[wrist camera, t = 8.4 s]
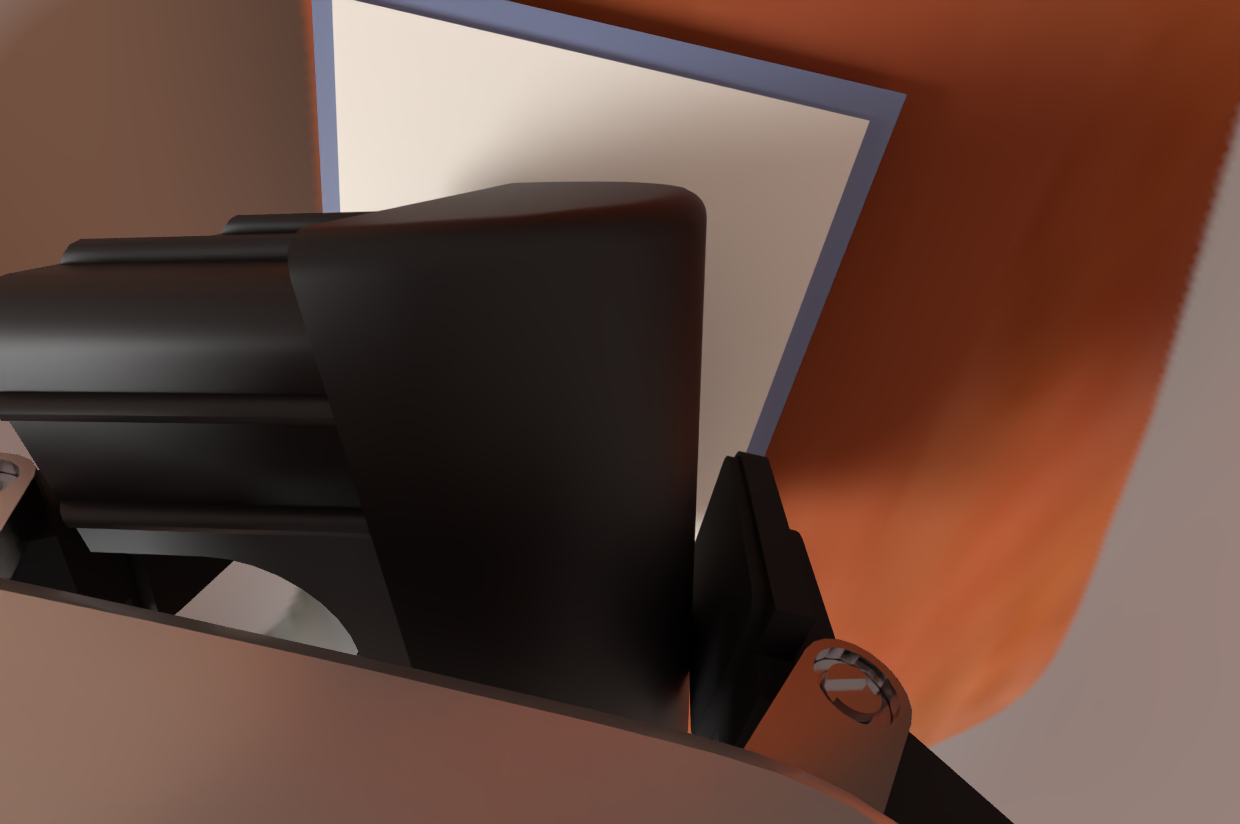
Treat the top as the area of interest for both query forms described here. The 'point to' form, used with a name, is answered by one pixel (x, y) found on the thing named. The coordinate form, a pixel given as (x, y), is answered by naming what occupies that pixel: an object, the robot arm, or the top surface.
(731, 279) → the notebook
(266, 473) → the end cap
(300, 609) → the top surface
